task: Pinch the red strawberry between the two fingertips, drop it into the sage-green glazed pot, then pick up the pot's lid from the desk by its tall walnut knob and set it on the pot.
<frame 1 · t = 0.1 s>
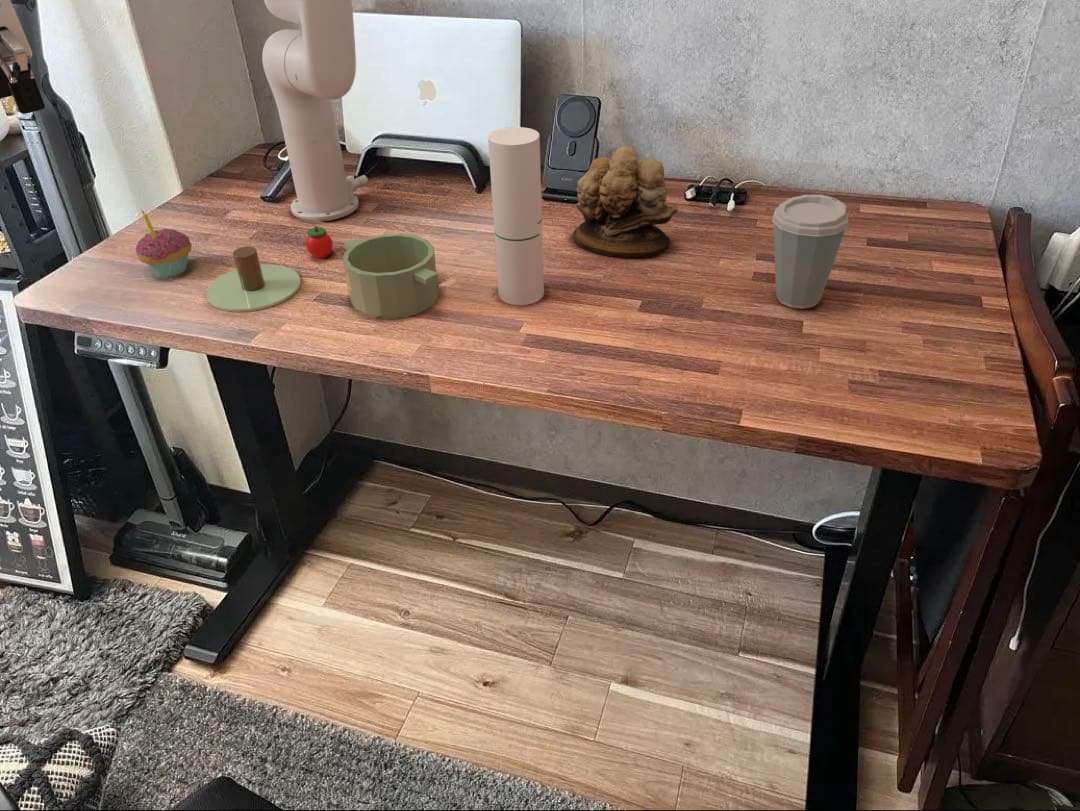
hand: (17, 104, 115), 31 cm above the table, tool pointing down, fingers open, 9 cm apart
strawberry: (321, 257, 144), on the table
lid: (254, 288, 135), point 1 cm above the table
pot: (395, 296, 133), on the table
cylindrical container: (521, 294, 133), on the table
disposable coffee cup: (795, 299, 129), on the table
sprinkled cake with candle: (171, 273, 142), on the table
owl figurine: (623, 243, 146), on the table
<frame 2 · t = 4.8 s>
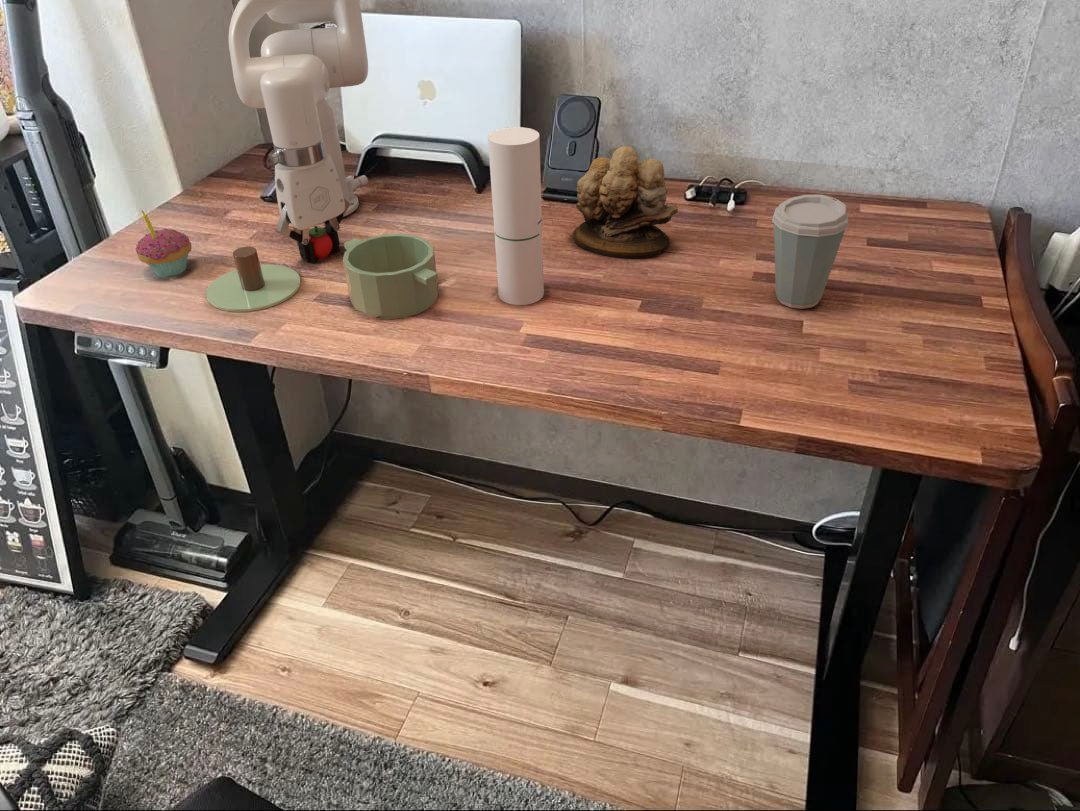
hand: (321, 256, 144), 0 cm above the table, tool pointing down, fingers closed on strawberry, 4 cm apart
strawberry: (322, 257, 144), on the table, touching gripper
everything else where it was.
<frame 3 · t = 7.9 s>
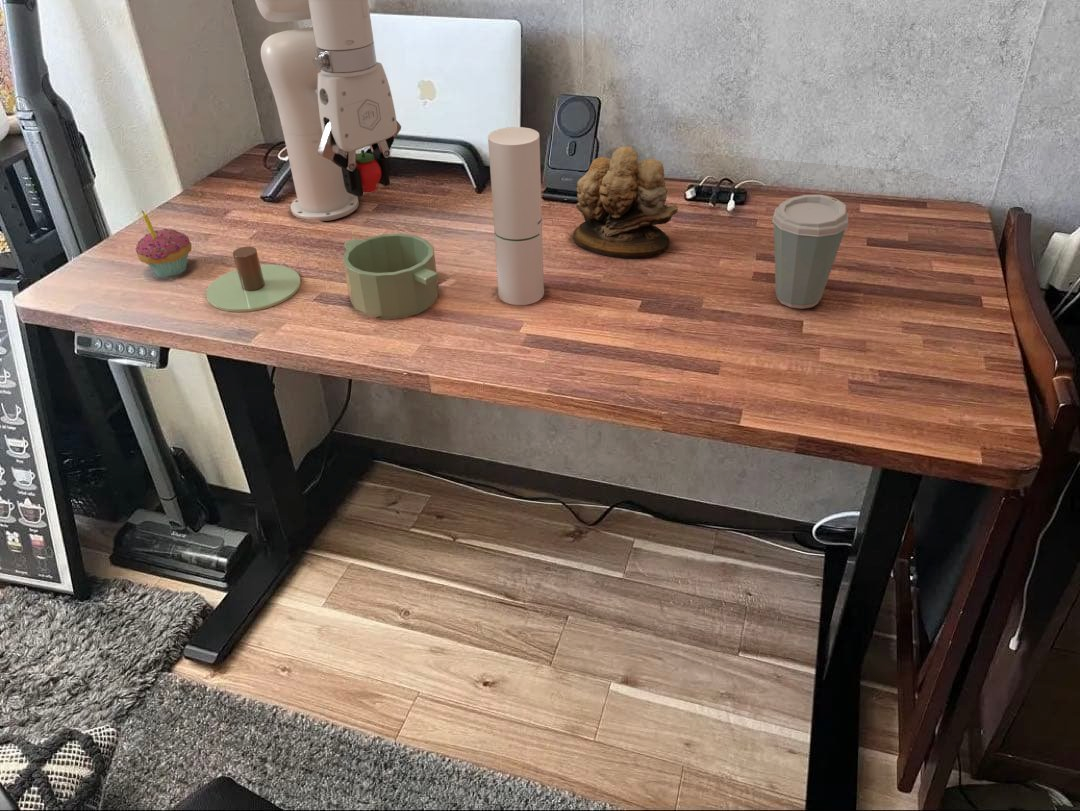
hand: (368, 187, 124), 17 cm above the table, tool pointing down, fingers closed on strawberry, 4 cm apart
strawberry: (368, 189, 124), point 17 cm above the table, touching gripper
everything else where it was.
when the fingers open (5 cm above the table, at t = 11.7 s): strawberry stays where it is, resting on pot.
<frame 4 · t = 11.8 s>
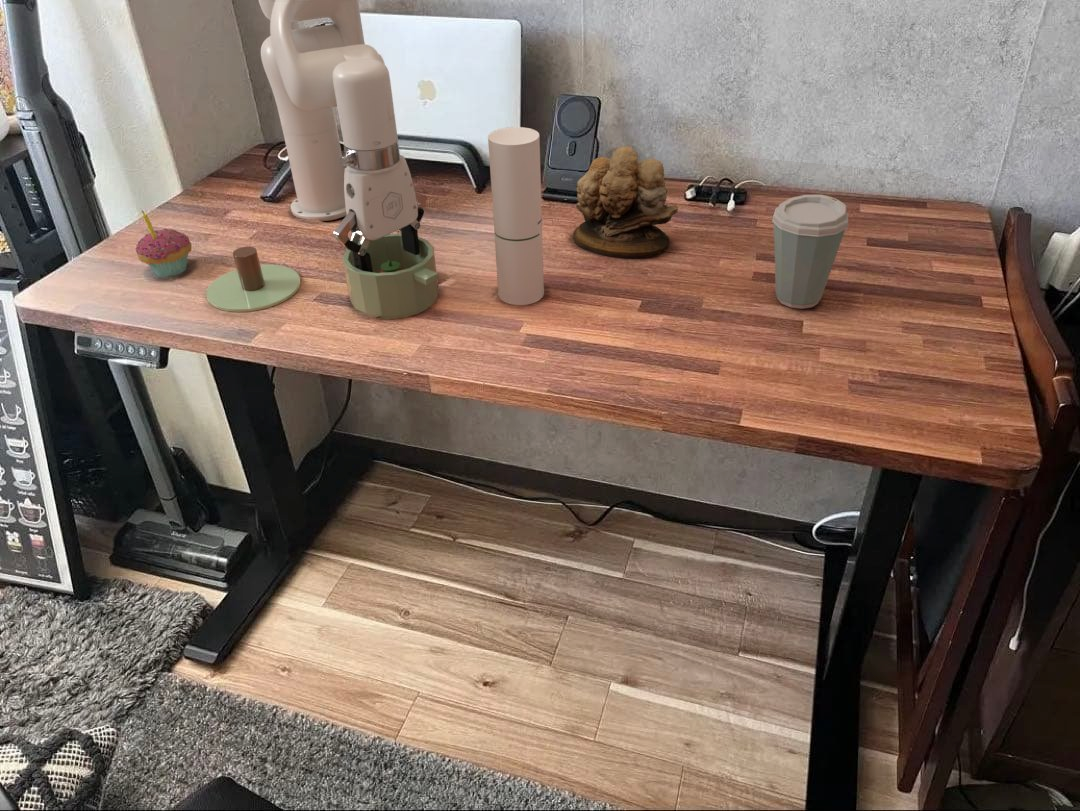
hand: (389, 263, 130), 6 cm above the table, tool pointing down, fingers open, 8 cm apart
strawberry: (394, 293, 133), resting on pot
everything else where it was.
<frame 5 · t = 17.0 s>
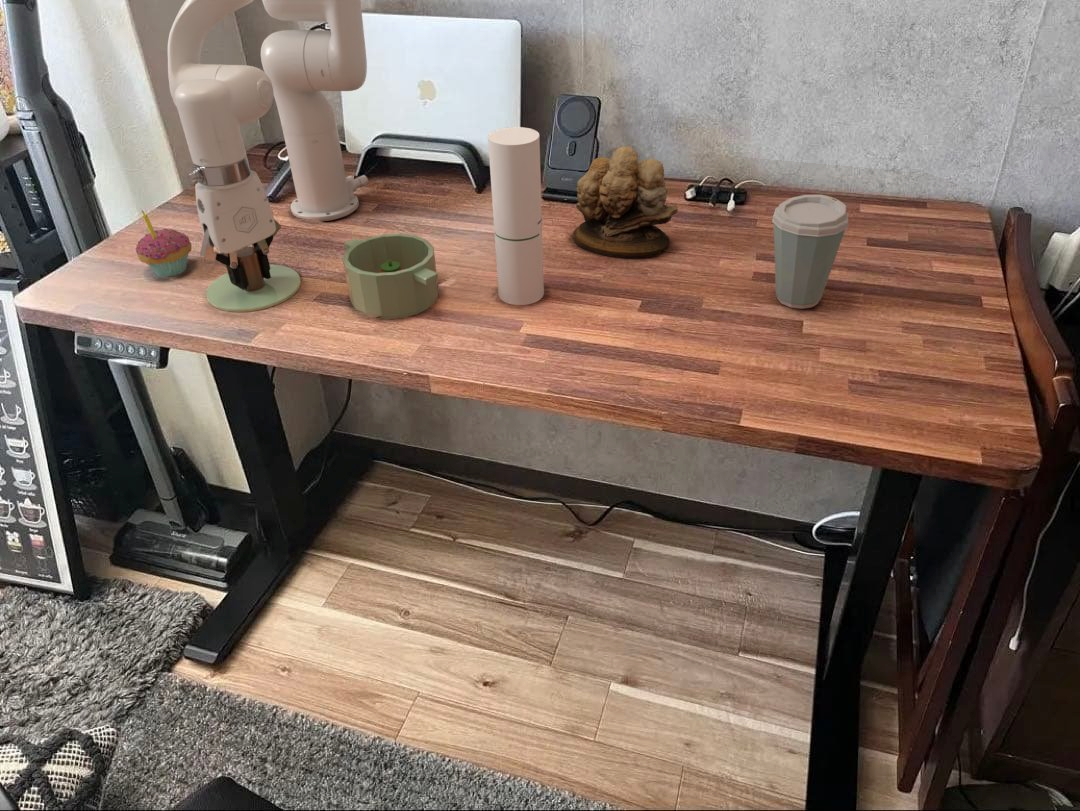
hand: (252, 280, 134), 2 cm above the table, tool pointing down, fingers closed on lid, 3 cm apart
lid: (254, 288, 135), point 1 cm above the table, touching gripper
everything else where it was.
when the fingers open (9 cm above the table, at t = 24.5 s): lid stays where it is, resting on pot.
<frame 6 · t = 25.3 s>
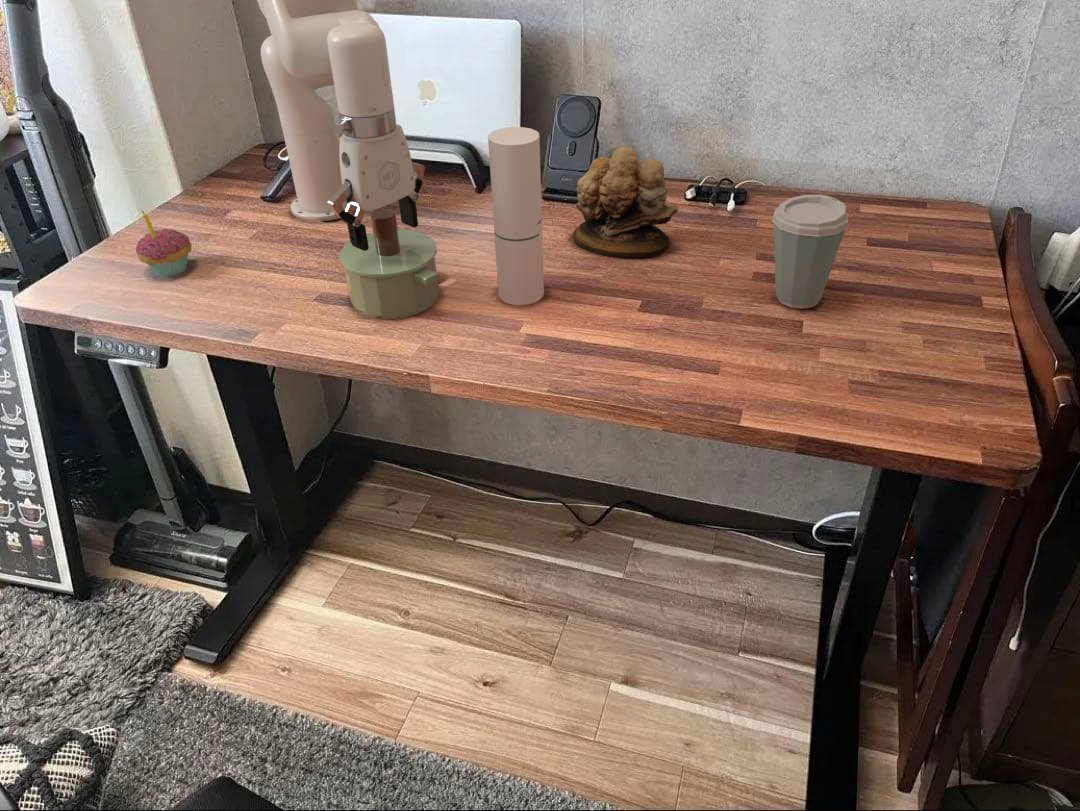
hand: (385, 236, 127), 10 cm above the table, tool pointing down, fingers open, 9 cm apart
lid: (388, 253, 128), point 7 cm above the table, touching pot
everything else where it was.
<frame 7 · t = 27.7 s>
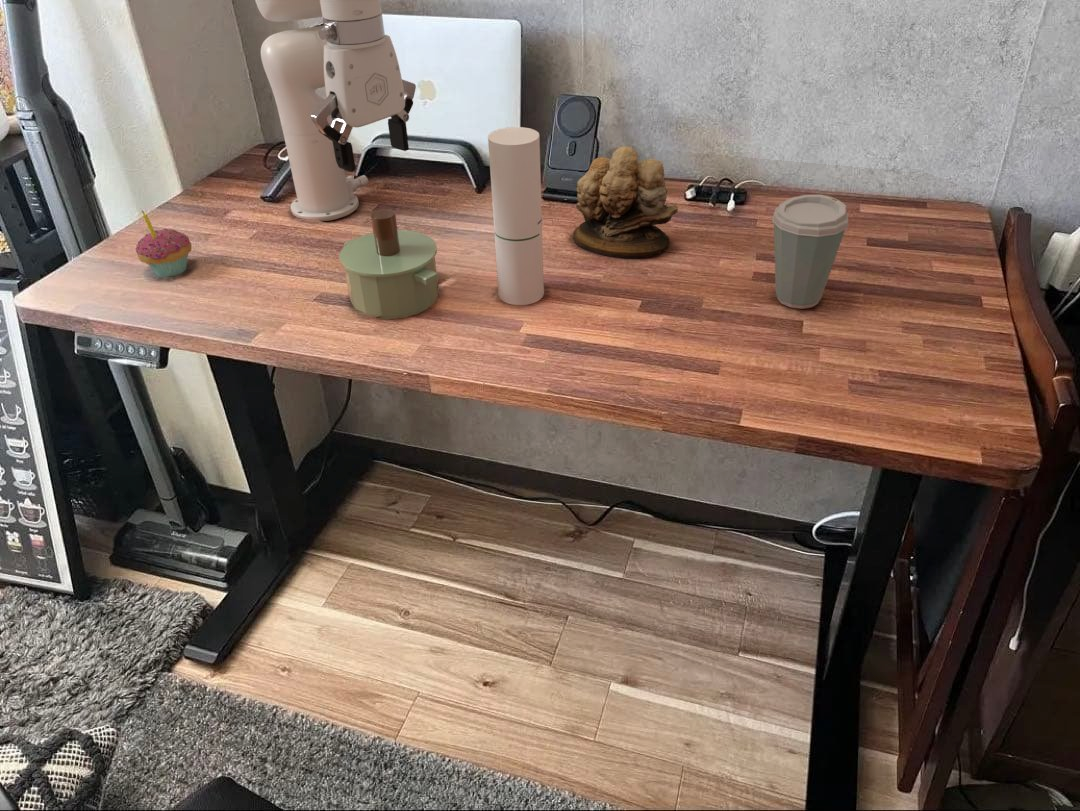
hand: (374, 158, 120), 22 cm above the table, tool pointing down, fingers open, 9 cm apart
nothing on the table moved.
at the end: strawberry inside the target area in the pot (0.0 cm from its centre), point 0.5 cm above the pot's base; lid 0.1 cm off-centre on the pot, point 7.5 cm above the pot's base; lid tilted 0° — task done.
